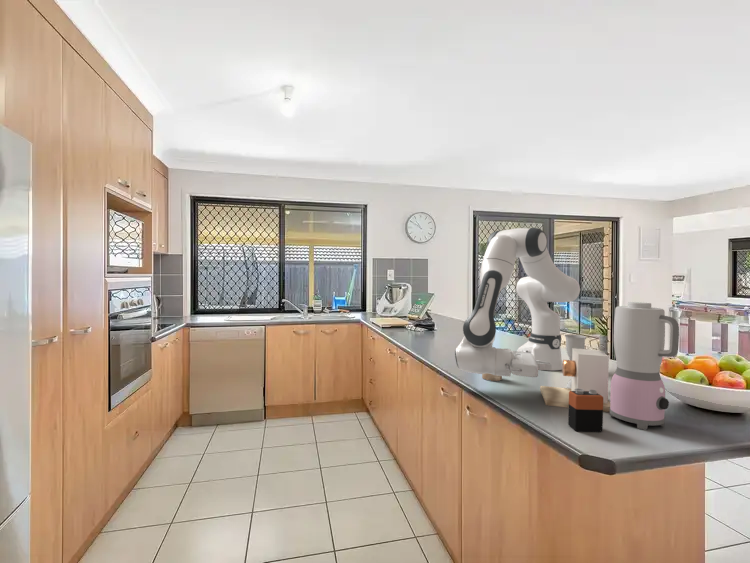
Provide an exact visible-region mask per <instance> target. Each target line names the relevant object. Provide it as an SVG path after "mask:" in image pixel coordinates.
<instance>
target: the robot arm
mask: <svg viewBox="0 0 750 563" xmlns="http://www.w3.org/2000/svg"><path fill="white" fill-rule="evenodd" d="M547 245H548V238H547V235H546V233H545V231H543V230H542V229H541V228H537V227H527V228H526V227H516V228H511V229H504V230H502V229H501V230H500V229H499V230H495V231H493V232H491V233H490V234H489V236H488V237H487V240H486V250H485V252H484V255H483V257H482V262H481V265H480V271H479V272H480V274H479V281H480V285H479V286H480V287H479V291H478V295H477V298H476V301H475V305H474V308H473V310H472V311H471V313H470V314H469V315H468V317H467V318H466V319H465V320H464V322H463V326H462V331H463V337H462V340H461V341H460V343H459V344H458V345H457V347H455V350H454V360H455V364H456V367H457V368H458V369H459V370H460V371H462V372H465V373H469V374H470V373H471V374H476V375H477V374H478V375H482V374H485V373H489V374H492V375H495V369H496V375H498V376H502V377H509V378H510V377H511V374H512V375H515V376H519V377H528V378H538V377H539V371H562V363H563V360H562V349H561V345H562V335H561V316H559V314H558V313H557V312H556V311H554V310H552V309H551V308H550V307H549V305H548V302H550V303H568V302H569V303H570V302H574V301H576V299H578V297H579V295H580V293H581V288H580V286H581V285H580V283H579V282H578V281H577V279H576V278H575V277H572V276H569V275H567V274H566V273H564V272H563V271H561V269H559V268H558V266H556V265H555V263H554V262H553V259H552V257H551V255H550V252H549V250H548V246H547ZM518 258H519V261H520V263H521V265H522V268H523V271H524V273H525V274H526V275H527V276H524V277H521V278H519V279H518V281H517V284H516V286H515V287H516V289H515V290H516V294H517V295H518V297H519V298H520V299H522V301H524V302H525V303H526V305H527V307H528V309H529V312H530V316H531V317H530V318H531V333H527V334H526V335H527V337H528V340H527V342H525V343H523V344H522V345H521V346H519V347H518V348H517V350H512V349H510V348H496V347H495V348H493V347H494V345H493V344H494V342H495V339H496V332H497V326H496V322H495V310H496V307H497V302H498V300H499V299H498V298H499V295H500V292H501V291H502V289H504V288H506V287H507V286H508V284H509V283H510V280H511V279H512V277H513V273H514V268H515V264H516V259H518Z"/></svg>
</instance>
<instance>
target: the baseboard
mask: <svg viewBox="0 0 750 563" xmlns="http://www.w3.org/2000/svg"><path fill="white" fill-rule="evenodd" d="M539 388H540V393H541V395H542V398H543V402H544V404H545V406H550V407H551V406H552V407H559V408H568V409H569V391H571V388H568V387H557V386H556V387H555V386H547V385H540V387H539ZM604 412H605V413H610V401H609V400H608V404H606V403H603V413H604Z"/></svg>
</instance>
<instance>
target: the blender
mask: <svg viewBox="0 0 750 563" xmlns="http://www.w3.org/2000/svg"><path fill="white" fill-rule="evenodd" d="M666 324H668V325H669V327H670V329H669V330H670V332H669V333H670V335H669V349H665V344H666ZM679 343H680V325H679V322H678V321H677V320H676V319H675V318H674V317H671V316H669V315H666V313H665V309H664V308H661V307H652V303H651V302H644V301H643V302H642V301H641V302H640V301H639V302H638V301H628V303H627V306H626V305H621V306H616V307H615V310H614V320H613V347H614V353H615V360H616V369H615V372H614V374H613V376H612V377H611V380H610V399H609V400H610V401H609V402H610V412H609V417H610V418H612V419H613V418H616V419H619V420H622V421H625V422H627V423H631V424H636V428H637V429H639V430H648V426H660V427H662V428H664V427H665V418H666V417H665V412H666V410H667V409H668V408H669V405H670V402H669V399H667V398H666V387H665V383H664V382H663V380H662V378H661V375H660V370H661V366H662V363H663V362H662V360H663V357H665V358H672V357H676V356H677V355H678V352H679V345H680V344H679Z"/></svg>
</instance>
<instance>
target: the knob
mask: <svg viewBox="0 0 750 563" xmlns="http://www.w3.org/2000/svg"><path fill="white" fill-rule="evenodd" d="M561 372H562V376H563V377H571V378H572V377H575V373H576V365H575V361H574V360H570V359H563V360H562V370H561Z"/></svg>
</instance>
